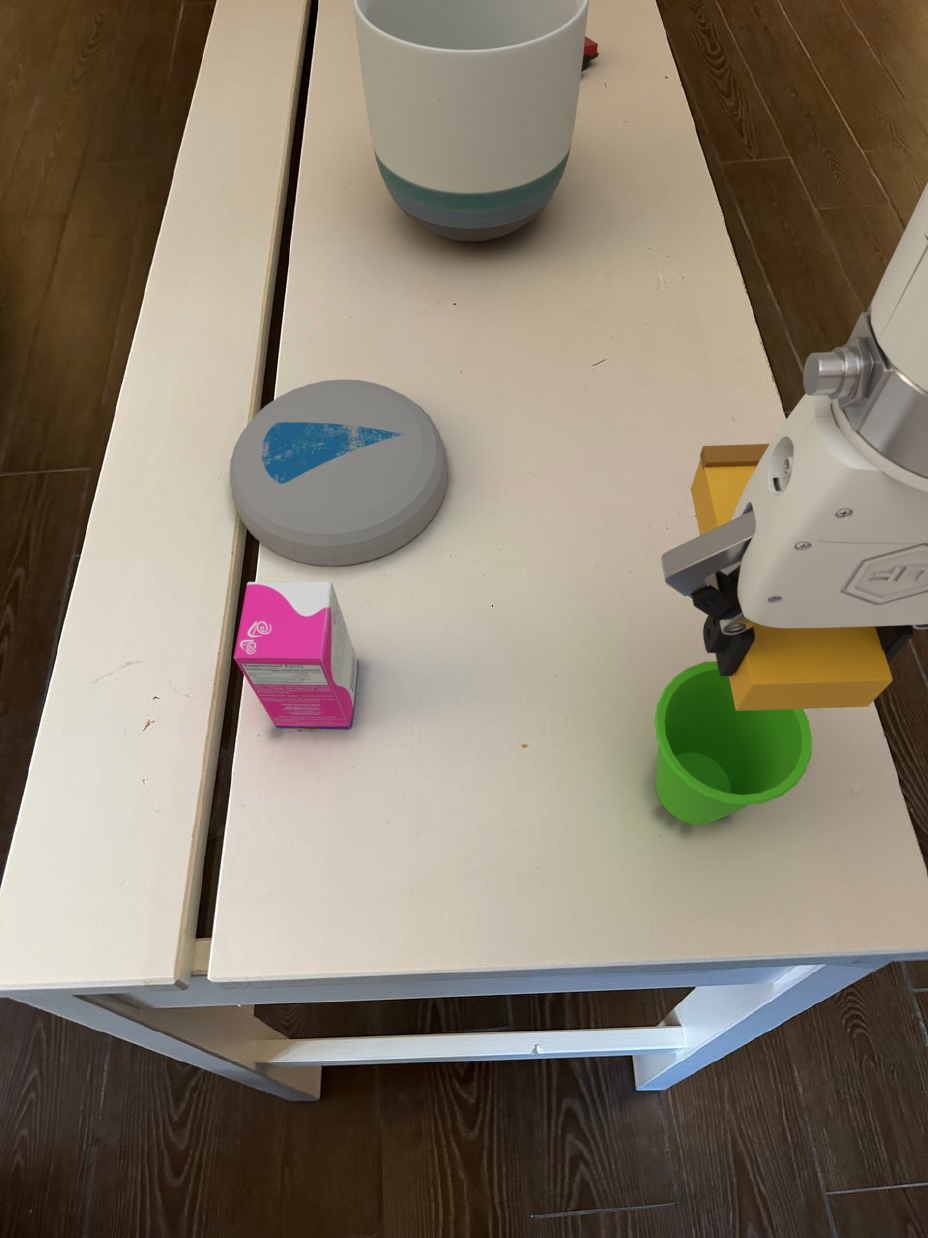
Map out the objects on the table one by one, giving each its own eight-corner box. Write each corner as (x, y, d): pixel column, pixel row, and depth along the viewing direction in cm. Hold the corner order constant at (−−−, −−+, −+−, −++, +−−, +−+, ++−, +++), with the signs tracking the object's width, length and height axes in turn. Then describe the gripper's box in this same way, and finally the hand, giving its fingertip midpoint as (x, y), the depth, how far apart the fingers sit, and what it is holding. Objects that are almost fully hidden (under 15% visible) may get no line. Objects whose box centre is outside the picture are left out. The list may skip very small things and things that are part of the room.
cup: (615, 736, 61) (640, 667, 51) (738, 722, 61) (786, 651, 51) (642, 861, 56) (675, 811, 46) (775, 846, 56) (835, 793, 47)
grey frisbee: (465, 547, 69) (464, 509, 65) (240, 584, 68) (223, 548, 63) (429, 387, 78) (426, 345, 74) (229, 416, 77) (214, 375, 72)
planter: (579, 273, 86) (606, 44, 67) (380, 285, 86) (352, 57, 67) (555, 156, 96) (573, -70, 78) (377, 166, 96) (352, -59, 77)
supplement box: (282, 659, 64) (246, 577, 54) (359, 660, 64) (338, 579, 54) (271, 729, 61) (231, 657, 51) (352, 731, 61) (327, 659, 51)
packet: (868, 707, 41) (897, 676, 38) (735, 711, 41) (754, 680, 38) (802, 482, 48) (822, 441, 46) (689, 485, 49) (702, 445, 46)
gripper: (716, 481, 25) (628, 722, 40) (1304, 461, 25) (990, 711, 40) (678, 310, 29) (611, 590, 44) (1187, 292, 29) (942, 580, 44)
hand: (793, 646), depth 42 cm, fingers closed on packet, 6 cm apart
